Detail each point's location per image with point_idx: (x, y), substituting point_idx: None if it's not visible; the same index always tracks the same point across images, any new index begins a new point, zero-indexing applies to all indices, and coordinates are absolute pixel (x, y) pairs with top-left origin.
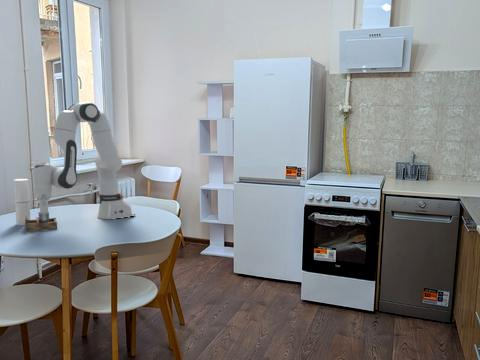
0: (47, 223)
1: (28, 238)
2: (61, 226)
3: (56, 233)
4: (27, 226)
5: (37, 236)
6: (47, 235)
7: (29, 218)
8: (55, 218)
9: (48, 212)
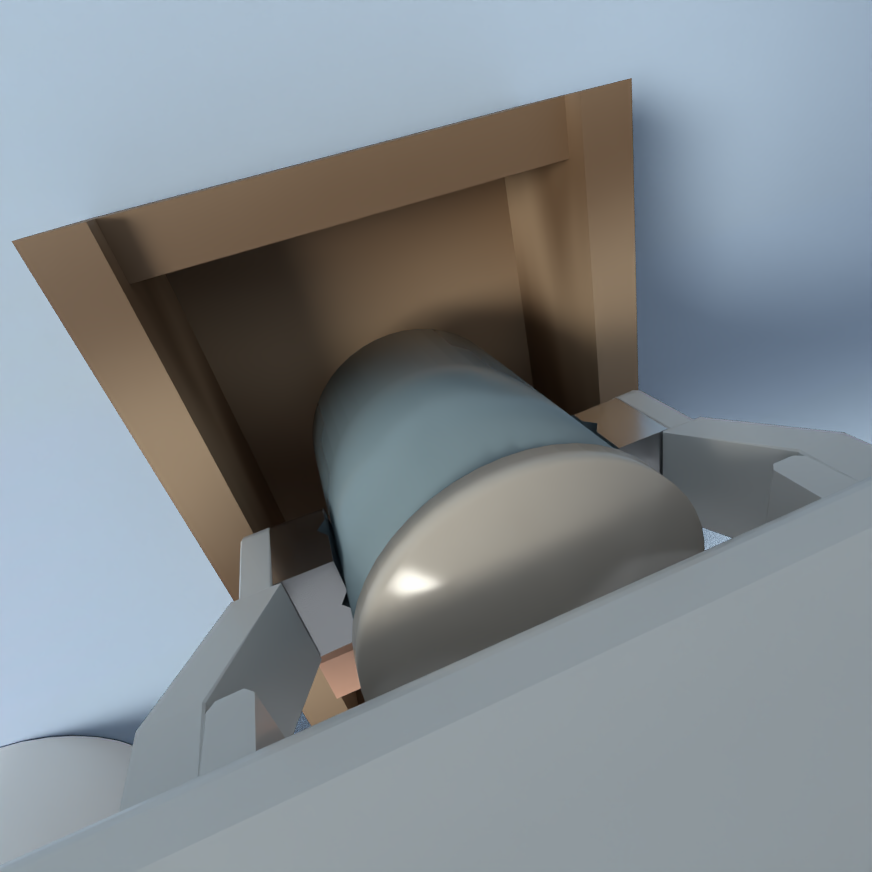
0: (623, 325)
1: (848, 414)
2: (254, 28)
3: (805, 66)
4: None
5: (822, 340)
6: (843, 209)
7: (13, 844)
8: (102, 239)
9: (617, 464)
